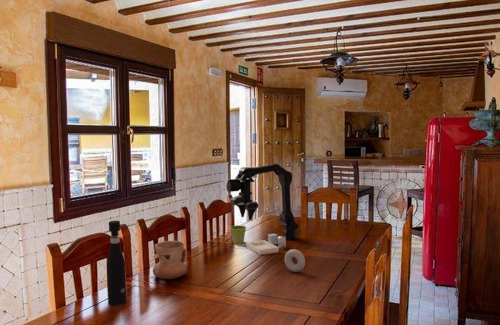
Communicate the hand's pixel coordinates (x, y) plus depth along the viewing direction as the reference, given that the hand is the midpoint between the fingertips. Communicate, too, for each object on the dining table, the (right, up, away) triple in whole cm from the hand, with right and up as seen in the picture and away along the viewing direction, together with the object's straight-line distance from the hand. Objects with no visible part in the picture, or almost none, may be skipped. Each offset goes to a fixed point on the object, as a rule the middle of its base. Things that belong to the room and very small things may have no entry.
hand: (246, 218), depth 222 cm
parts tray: (+8, -15, -8) cm, 19 cm away
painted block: (+15, -14, +4) cm, 21 cm away
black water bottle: (-47, -21, -73) cm, 89 cm away
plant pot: (-4, -15, +7) cm, 17 cm away
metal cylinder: (+19, -15, -5) cm, 25 cm away
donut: (+22, -18, -43) cm, 51 cm away
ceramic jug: (-32, -19, -46) cm, 59 cm away
